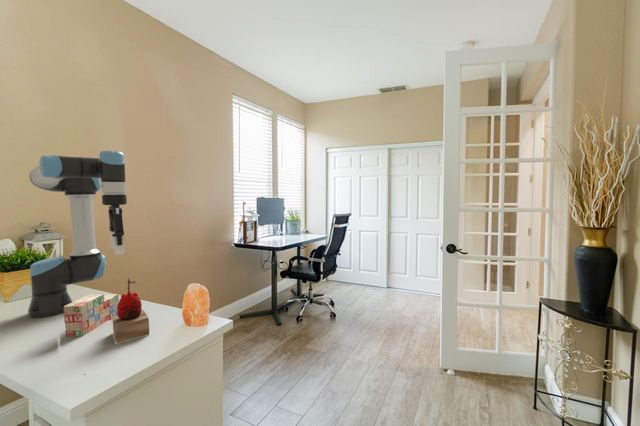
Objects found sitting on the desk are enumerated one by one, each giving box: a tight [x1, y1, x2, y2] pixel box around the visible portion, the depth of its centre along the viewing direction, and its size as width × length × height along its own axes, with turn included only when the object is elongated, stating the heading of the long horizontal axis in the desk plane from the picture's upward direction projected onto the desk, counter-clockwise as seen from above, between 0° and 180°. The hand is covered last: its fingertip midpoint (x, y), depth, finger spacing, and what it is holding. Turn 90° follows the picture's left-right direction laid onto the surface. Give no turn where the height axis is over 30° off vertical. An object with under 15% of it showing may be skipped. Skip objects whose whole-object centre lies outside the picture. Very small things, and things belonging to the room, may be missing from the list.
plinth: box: [112, 309, 151, 344], centre depth 112 cm, size 10×10×6 cm
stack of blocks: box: [63, 293, 120, 337], centre depth 122 cm, size 21×6×12 cm, turn 1°
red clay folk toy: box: [117, 277, 143, 320], centre depth 112 cm, size 8×7×15 cm
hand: (117, 251), depth 116 cm, fingers open, 13 cm apart
